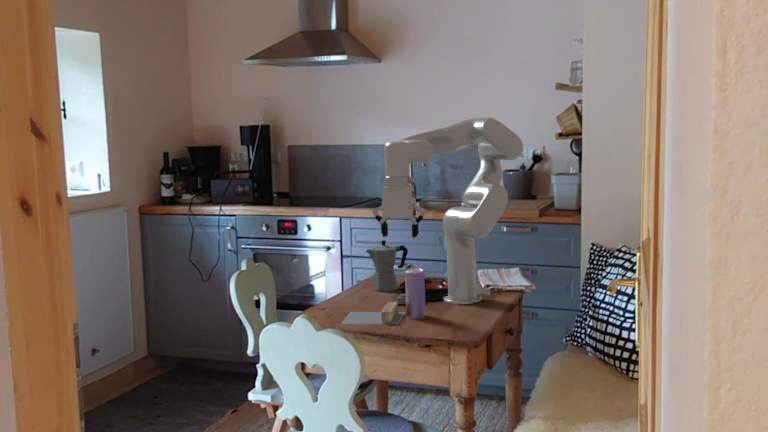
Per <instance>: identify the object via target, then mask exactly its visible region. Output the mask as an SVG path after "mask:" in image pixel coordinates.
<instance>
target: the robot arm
mask: <svg viewBox="0 0 768 432" xmlns="http://www.w3.org/2000/svg"><path fill="white" fill-rule="evenodd" d="M474 145H477V146H478V147H477V150H478V157H479V162H480V164H479V165H480V166H479V169H478V171H477V172H476V174H475V176H474V177H473V179H472V180H471V182H470V184H469V185H468V186H467V188H466V190H465V191H464V193H463V195H462V203H463V205H464V206H453V207H451V208H448V209H447V210H446V211H445V212H444V215H443V217H442V218H443V219H442V226H443V230H444V234H445V240H446V259H447V261H446V262H447V263H446V265H447V266H446V267H447V295H448V296H445V295H444V296H445V297H444V296H443V301H444V302H445V303H449V304H453V305H471V304H476V303H479V302H481V301H482V296H485V297H487V296H491V289H487V288H483V289H482V288H481V289H480V287H479V286H478V285H477V256H476V254H477V253H476V251H477V249H476V245H475V241H474V239H473V238H475V239H482V238H483V239H484V238H485V237H486V236H488V235H489V234H490V233H491V231H492V230H493V229H494V227H495V225H496V224H497V222H498V221H499V219H500V217H501V216H502V215H503V213H504V212H505V210H506V208H507V206H508V202H509V201H508V200H509V196H508V194H509V193H508V190H507V189H506V188H505V186H503V185H502V184H501V182H502V180H503V177H504V176H503V169H502V164H501V160H503V161H514V160H516V159H518V158H519V157H520V156H521V155H522V154H523V151H524V143H523V141H522V138H521V137H520V136H519V135H518V134H517V133H516V132H514V131H512V130H511V129H510V128H509V127H508V126H506V125H505V124H504V123H502V122H500V121H499V120H497V119H496V118H493V117H472V118H468V119H466V120H462V121H460V122H456V123H454V124H450V125H447V126H445V127H441V128H436V129H433V130H429V131H424V132H422V133H421V132H420V133H417V134H414V135H411V136H407V137H404V138H402V139H400V140H398V141H389V142H386V143H385V144H384V147H383V149H384V150H383V151H384V171H385V173H384V174H385V186H383V191H382V201H381V202H382V203H381V205H380V206H379V205H378V207H376V208H373V209H372V214H373V215H374V217H375V220H377V222H379V224H380V231H381V232H380V233H381V235H382V238H385V237H387V236H389V225H388V222H387V221H388V220H389V219H395V220H397V219H399V220H401V219H404V220H405V219H406V220H407V219H409V220H410V221H411V222H412V224H411V236H412V238H416V237H418V235H419V234H420V233H419V224H420V222H421V221H423V219H424V218H425V215H426V213H427V209H426V208H424V207H421V206H419V205H418V204H417V202H416V201H417V199H416V194H415V189H414V186H413V185H411V184H412V183H415V177H412V176H411V173H410V164H413V165H415V164H416V165H423V164H424V165H425V164H426V163H428V162H430V161H431V160H432V159H433V157H434V155H446V154H451V153H454V152H458V151H460V150H462V149H466V148H467V147H468V148H469V147H471V146H474ZM380 211H382V212H381V214H382V216H381V214H379V213H380ZM417 212H419V216H416V215H417V214H418V213H417Z"/></svg>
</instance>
